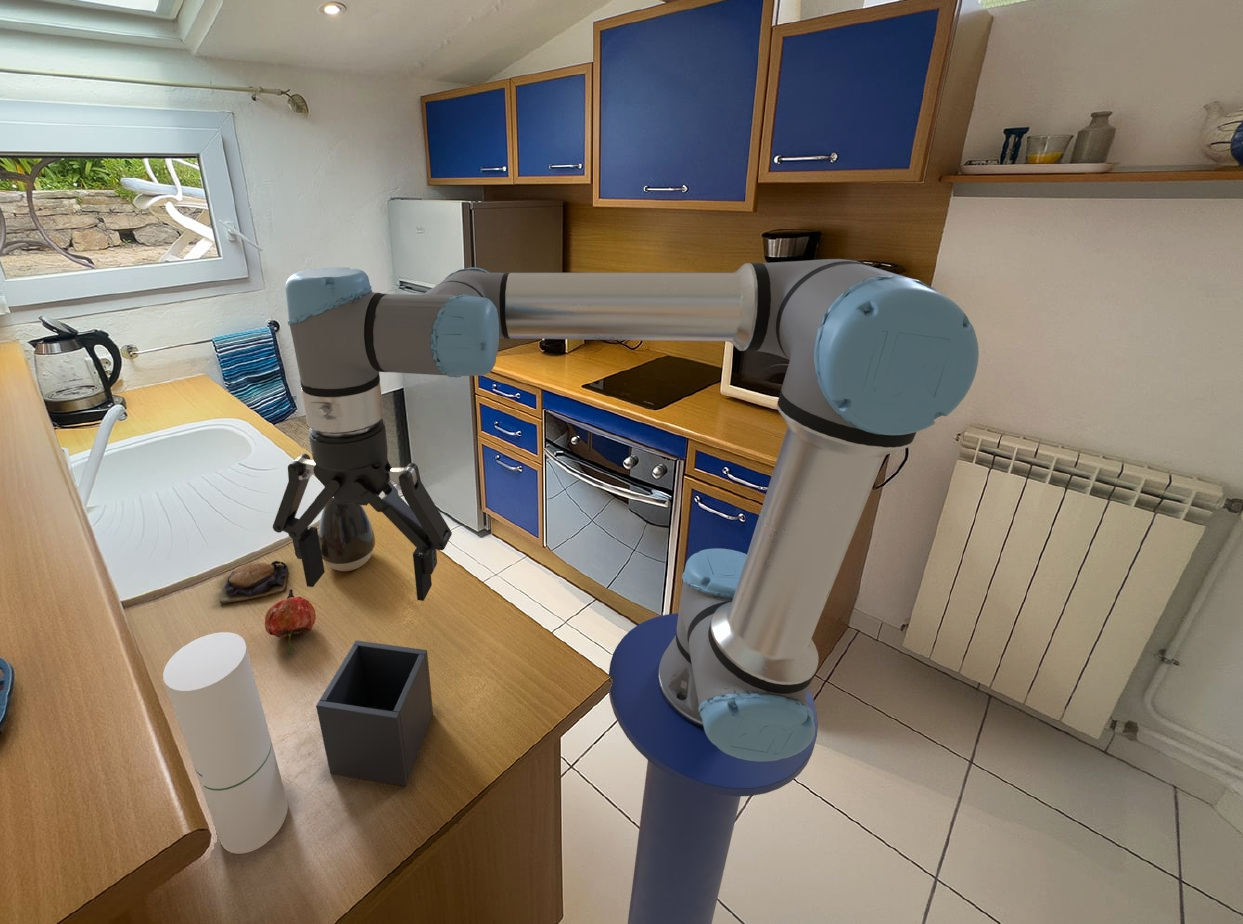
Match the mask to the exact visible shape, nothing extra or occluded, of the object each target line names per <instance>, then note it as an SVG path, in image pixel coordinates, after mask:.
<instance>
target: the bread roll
mask: <svg viewBox="0 0 1243 924" xmlns="http://www.w3.org/2000/svg"><path fill="white" fill-rule="evenodd" d="M287 577H288V566H287V564H286V563H284V562H283V561H279V560H274V561H272V562H271V563H267V562H255V561H254V562H250V563H246V564H245V565H242V566H240V567H238V568H237V569H235V570H233V571H232V572H231V573H230V574H227V575H225V576H224V579H223V583H222V586H221V587H222V588H221V592H220V596H219V599H218V600H219V602H218V603H219V604H228V603H234V602H235V603H236V602H241V601H243V602H244V601H247V600H252V599H257V598H261V597H267V596H268V595H272V594H278V593H281V592H284V591H285V590H286V588H287V581H288V578H287Z"/></svg>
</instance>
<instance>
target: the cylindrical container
mask: <svg viewBox="0 0 1243 924" xmlns="http://www.w3.org/2000/svg"><path fill="white" fill-rule="evenodd" d="M162 674H163V675H162V679H163V682H164V685H165V688H166V691H167V694H168V697H169V700H170V702H171V705H172V709H173V711H174V713H175V716H176V720H177V722H178V726H179V728H180V732H181V733H182V736H183V739H184V742H185V745H186V747H187V751H188V753H189V757H190V759H191V763H192V765H193V768H194V771H195V774H196V776H197V779H198V782H199V785H200V788H201V791H202V794H203V796H204V800H205V802H206V806H207V808H208V810H209V814H210V817H211V819H212V821H213V825H214V827H215V830H216V833H217V837H218V839H219V842H220V844H221V846H222V847H223V849H224V850H225V851H227V852H228V853H231V854H236V855H240V854H246V853H247V854H248V853H251V852H253V851H256V850H258V849H260V848H262V847H263V846H264V845H266V844H267V843H268V842H269V841H271V840H272V839H273V838H274V837H275V836H276V834H278V832H279V831H280V830H281V828H282V826H283V825H284V822H285V821H286V817H287V815H288V809H289V806H288V805H289V804H288V799H287V798H288V797H287V794H286V791H285V787H284V783H283V779H282V775H281V772H280V768H279V764H278V761H277V756H276V753H275V750H274V746H273V742H272V738H271V734H270V730H269V727H268V722H267V719H266V715H265V712H264V711H265V710H264V707H263V705H262V700H261V697H260V692H259V689H258V684H257V681H256V678H255V677H256V676H255V675H254V669H253V665H252V662H251V659H250V655H249V651H248V646H247V644H246V641H245V639H244V638H243V637H242V636H241V635H239V634H237V633H234V632H228V631H222V632H214V633H209V634H206V635H203V636H200V637H199V638H195V639H194V640H192V641H191V642H189V643H187V644H185V645H184V646H182V647H181V648H180V649H178V650H177V651H176V652H175V653H174V654H173V655H172V656H171V657H170V658H169V660H168V662H167V663H166V665H165V667H164V669H163V673H162Z"/></svg>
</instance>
